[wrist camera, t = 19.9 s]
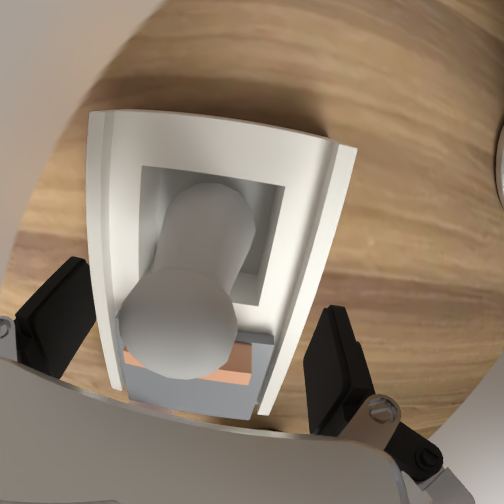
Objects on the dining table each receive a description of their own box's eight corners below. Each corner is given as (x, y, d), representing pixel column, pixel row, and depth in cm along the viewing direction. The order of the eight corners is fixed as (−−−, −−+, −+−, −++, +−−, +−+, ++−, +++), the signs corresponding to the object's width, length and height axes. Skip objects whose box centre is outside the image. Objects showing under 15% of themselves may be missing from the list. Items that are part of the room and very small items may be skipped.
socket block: (132, 108, 18) (89, 111, 13) (328, 137, 19) (357, 148, 14) (131, 342, 28) (112, 388, 22) (266, 365, 29) (268, 415, 23)
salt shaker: (157, 206, 21) (63, 325, 9) (220, 157, 19) (169, 237, 7) (208, 265, 23) (173, 414, 11) (271, 224, 21) (291, 367, 10)
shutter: (119, 309, 20) (101, 342, 16) (273, 335, 20) (276, 374, 17) (131, 391, 24) (121, 421, 21) (249, 411, 25) (249, 444, 22)
